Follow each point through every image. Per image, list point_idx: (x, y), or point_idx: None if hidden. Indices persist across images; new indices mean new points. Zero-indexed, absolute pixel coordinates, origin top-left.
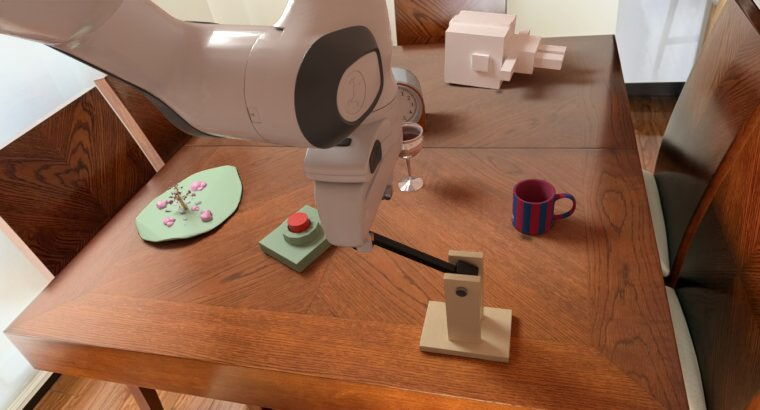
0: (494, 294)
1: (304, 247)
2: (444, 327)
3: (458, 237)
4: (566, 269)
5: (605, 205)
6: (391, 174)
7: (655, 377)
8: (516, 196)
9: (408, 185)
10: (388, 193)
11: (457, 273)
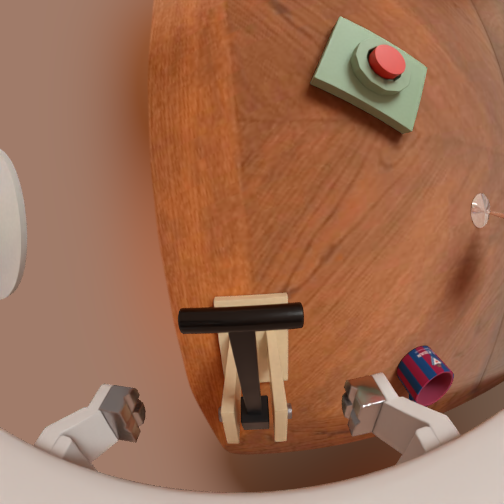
0: (313, 356)
1: (350, 79)
2: None
3: (402, 297)
4: None
5: None
6: (399, 448)
7: (243, 448)
8: (432, 378)
9: (478, 209)
10: (348, 421)
11: (241, 421)
